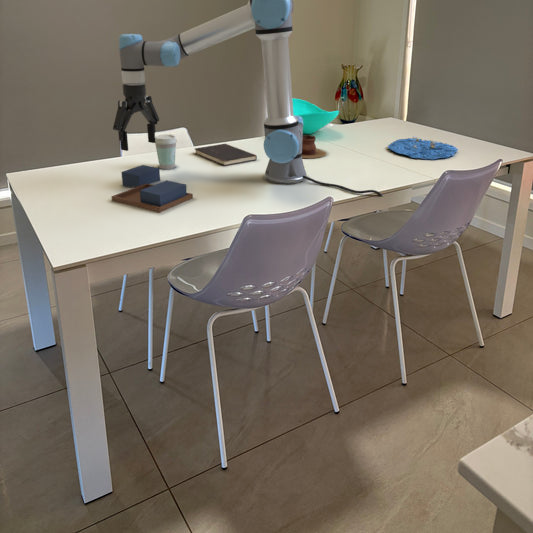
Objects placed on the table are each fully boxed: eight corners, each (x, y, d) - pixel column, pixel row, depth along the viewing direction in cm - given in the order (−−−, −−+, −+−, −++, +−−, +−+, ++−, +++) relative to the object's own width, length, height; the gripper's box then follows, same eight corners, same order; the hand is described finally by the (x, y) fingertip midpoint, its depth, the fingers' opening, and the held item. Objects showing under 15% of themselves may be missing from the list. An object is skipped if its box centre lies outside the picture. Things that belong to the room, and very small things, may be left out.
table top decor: (352, 138, 277) (354, 109, 271) (302, 144, 265) (303, 114, 259) (306, 122, 308) (307, 96, 303) (260, 127, 296) (260, 100, 290)
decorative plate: (471, 160, 248) (474, 148, 245) (406, 163, 241) (408, 151, 238) (437, 141, 273) (439, 130, 270) (377, 143, 266) (379, 132, 264)
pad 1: (160, 181, 214) (159, 168, 212) (139, 189, 205) (138, 175, 203) (143, 177, 217) (142, 164, 215) (122, 185, 209) (121, 171, 207)
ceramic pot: (294, 146, 262) (295, 130, 259) (332, 151, 255) (333, 134, 252) (277, 155, 248) (278, 138, 244) (317, 160, 241) (318, 143, 238)
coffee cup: (174, 171, 226) (172, 139, 221) (152, 169, 227) (150, 138, 222) (181, 165, 233) (179, 134, 228) (160, 163, 235) (158, 133, 230)
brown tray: (193, 199, 196) (192, 193, 195) (159, 214, 183) (159, 208, 182) (146, 188, 206) (146, 183, 205) (112, 202, 193) (111, 196, 192)
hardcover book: (223, 166, 232) (223, 160, 231) (194, 153, 249) (194, 148, 248) (256, 160, 241) (256, 154, 240) (226, 148, 257) (226, 143, 256)
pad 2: (187, 198, 195) (186, 184, 193) (160, 210, 185) (159, 195, 183) (167, 194, 199) (166, 180, 197) (140, 205, 189) (139, 190, 187)
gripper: (150, 78, 209) (154, 137, 218) (97, 86, 189) (104, 151, 199) (167, 80, 205) (170, 140, 214) (114, 89, 186) (120, 155, 195)
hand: (138, 146), depth 206 cm, fingers open, 13 cm apart
